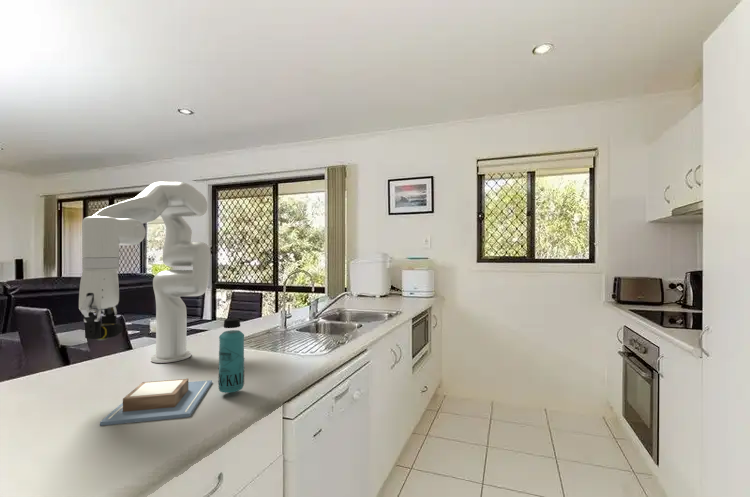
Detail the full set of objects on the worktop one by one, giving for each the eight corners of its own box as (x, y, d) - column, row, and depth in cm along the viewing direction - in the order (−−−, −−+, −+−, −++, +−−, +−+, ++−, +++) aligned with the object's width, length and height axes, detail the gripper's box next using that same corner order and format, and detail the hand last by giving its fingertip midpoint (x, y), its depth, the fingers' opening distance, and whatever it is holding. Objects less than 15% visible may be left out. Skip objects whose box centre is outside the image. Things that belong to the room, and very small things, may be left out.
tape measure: (124, 335, 95) (124, 321, 95) (111, 341, 89) (111, 326, 89) (94, 336, 94) (95, 322, 94) (79, 343, 87) (80, 327, 87)
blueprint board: (142, 388, 99) (142, 374, 99) (212, 382, 103) (212, 369, 103) (99, 425, 77) (100, 407, 77) (189, 416, 81) (189, 399, 81)
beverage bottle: (222, 389, 97) (223, 316, 98) (247, 388, 98) (247, 316, 98) (214, 399, 91) (214, 321, 91) (240, 398, 92) (240, 320, 92)
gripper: (102, 263, 99) (102, 327, 99) (62, 266, 82) (62, 344, 82) (132, 263, 100) (133, 326, 100) (99, 266, 83) (99, 342, 83)
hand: (101, 333), depth 91 cm, fingers closed on tape measure, 6 cm apart
